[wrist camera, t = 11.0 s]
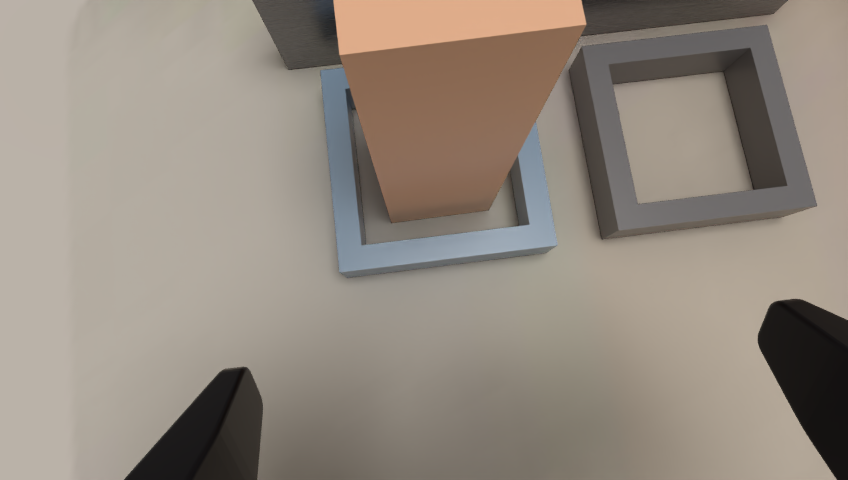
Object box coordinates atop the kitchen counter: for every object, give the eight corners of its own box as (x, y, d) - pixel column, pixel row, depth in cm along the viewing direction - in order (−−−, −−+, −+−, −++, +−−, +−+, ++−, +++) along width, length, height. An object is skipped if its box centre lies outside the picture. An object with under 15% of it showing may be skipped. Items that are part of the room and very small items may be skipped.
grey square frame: (783, 216, 23) (817, 205, 21) (601, 239, 22) (618, 230, 21) (739, 49, 24) (767, 24, 22) (568, 69, 24) (582, 46, 22)
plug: (489, 210, 23) (586, 24, 9) (391, 222, 23) (339, 55, 9) (471, 103, 24) (535, -213, 10) (377, 115, 24) (312, -188, 10)
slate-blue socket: (545, 252, 22) (557, 245, 20) (347, 277, 22) (339, 272, 20) (514, 70, 24) (522, 47, 22) (328, 92, 24) (320, 70, 22)
